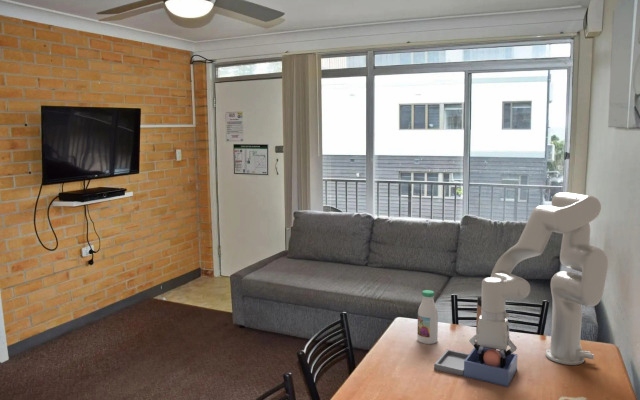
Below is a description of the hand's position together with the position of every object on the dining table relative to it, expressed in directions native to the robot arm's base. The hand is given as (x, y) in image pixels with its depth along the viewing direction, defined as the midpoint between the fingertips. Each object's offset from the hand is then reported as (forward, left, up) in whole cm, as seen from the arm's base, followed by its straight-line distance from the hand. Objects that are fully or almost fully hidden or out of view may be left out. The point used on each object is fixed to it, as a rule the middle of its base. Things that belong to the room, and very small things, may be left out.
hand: (492, 365), depth 175 cm
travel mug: (+6, -18, -3) cm, 19 cm away
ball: (0, 0, +2) cm, 2 cm away
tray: (+13, 0, -3) cm, 13 cm away
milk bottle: (+28, -15, -3) cm, 32 cm away
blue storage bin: (0, 0, -3) cm, 3 cm away
